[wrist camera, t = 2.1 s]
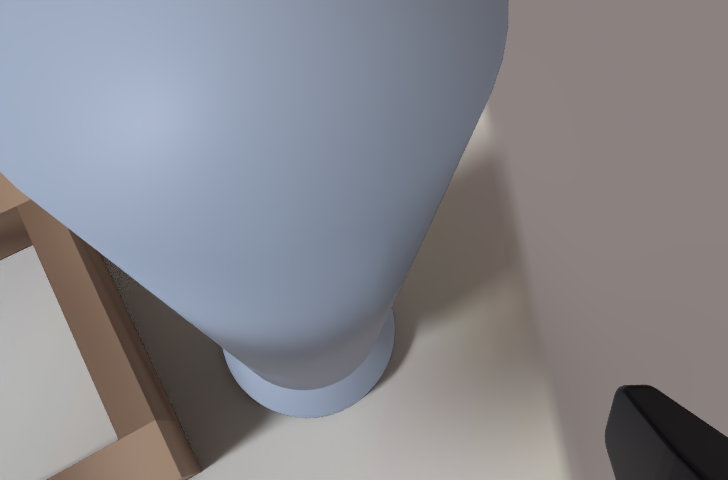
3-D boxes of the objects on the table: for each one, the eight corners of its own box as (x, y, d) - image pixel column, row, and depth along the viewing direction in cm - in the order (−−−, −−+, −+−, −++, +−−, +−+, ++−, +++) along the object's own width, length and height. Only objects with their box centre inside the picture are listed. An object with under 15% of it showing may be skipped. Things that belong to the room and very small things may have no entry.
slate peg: (367, 438, 19) (511, 460, 4) (201, 390, 19) (-320, 220, 4) (410, 276, 20) (637, -187, 5) (256, 232, 21) (38, -338, 5)
